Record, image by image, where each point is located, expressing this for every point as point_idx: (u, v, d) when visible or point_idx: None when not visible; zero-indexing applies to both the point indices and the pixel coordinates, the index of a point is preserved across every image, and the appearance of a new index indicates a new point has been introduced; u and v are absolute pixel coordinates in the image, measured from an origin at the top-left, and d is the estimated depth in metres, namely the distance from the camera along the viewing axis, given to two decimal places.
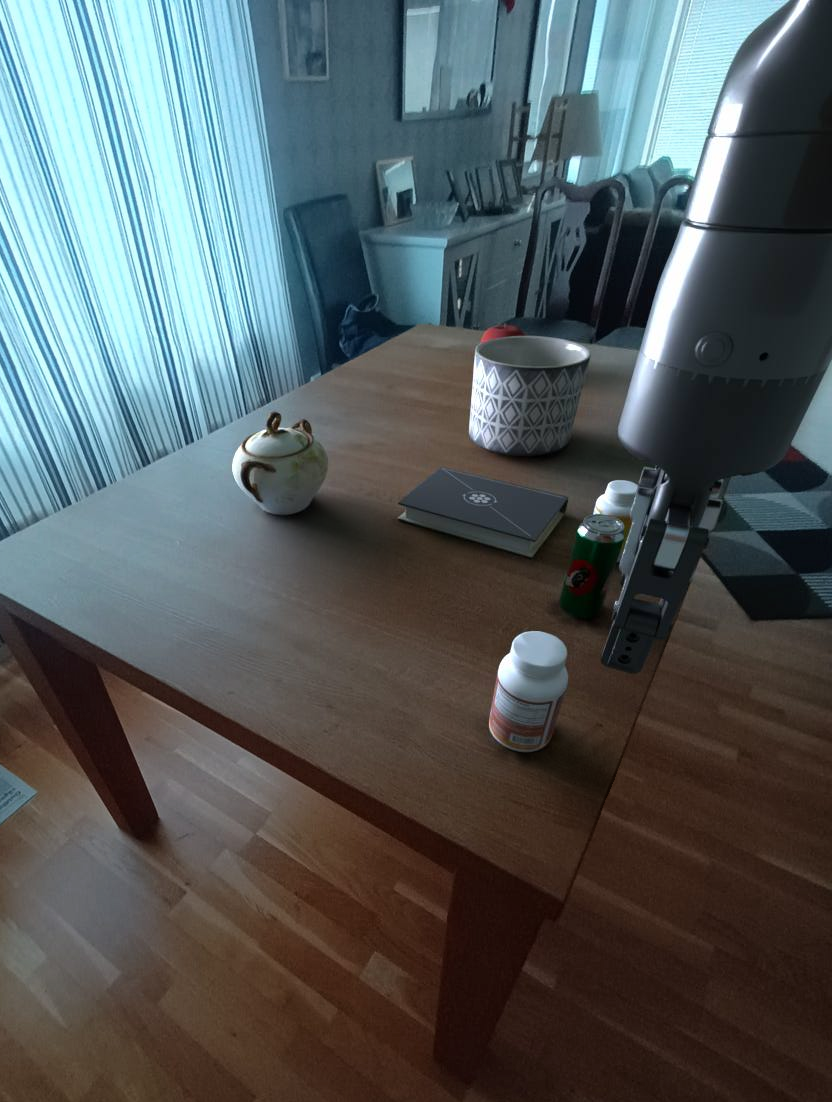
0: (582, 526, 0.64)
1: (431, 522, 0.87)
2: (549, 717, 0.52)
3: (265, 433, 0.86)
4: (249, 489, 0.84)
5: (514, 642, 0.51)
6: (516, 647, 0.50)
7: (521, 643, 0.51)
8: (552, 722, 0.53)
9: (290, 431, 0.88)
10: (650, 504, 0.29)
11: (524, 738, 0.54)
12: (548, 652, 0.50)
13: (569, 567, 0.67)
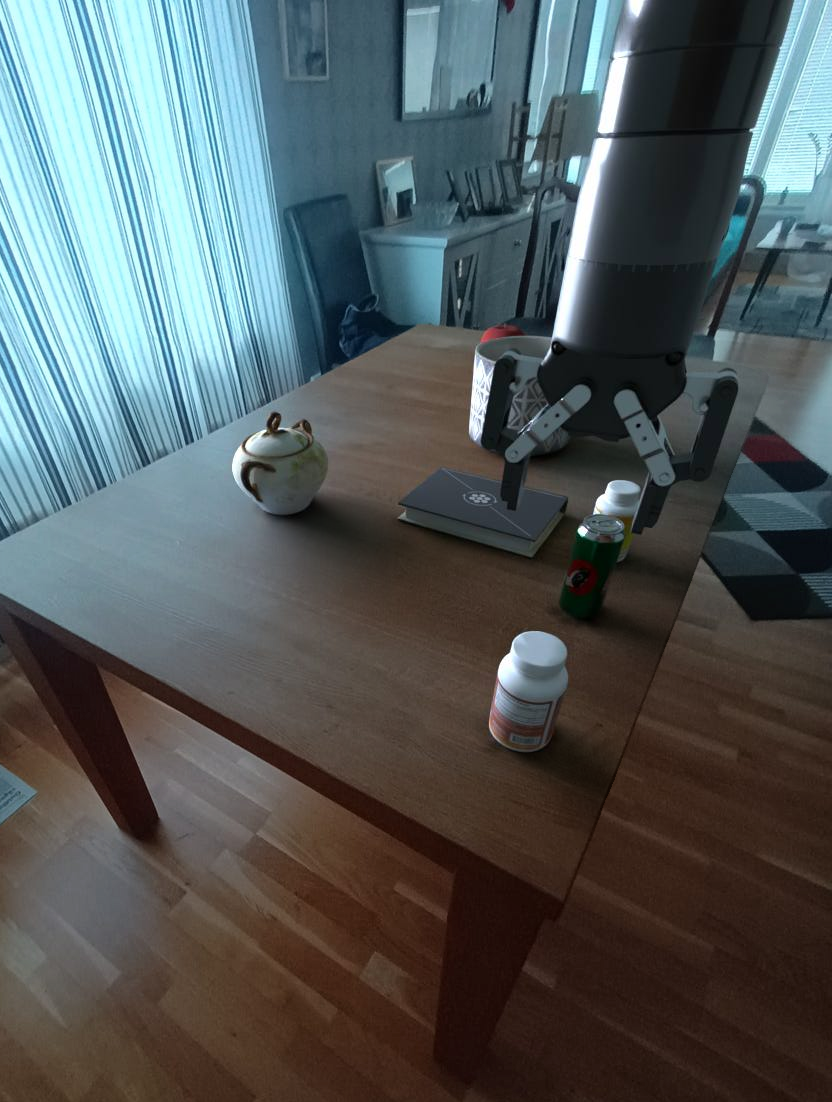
0: (582, 526, 0.64)
1: (431, 522, 0.87)
2: (549, 717, 0.52)
3: (265, 433, 0.86)
4: (249, 489, 0.84)
5: (514, 642, 0.51)
6: (516, 647, 0.50)
7: (521, 643, 0.51)
8: (552, 722, 0.53)
9: (290, 431, 0.88)
10: None
11: (524, 738, 0.54)
12: (548, 652, 0.50)
13: (569, 567, 0.67)
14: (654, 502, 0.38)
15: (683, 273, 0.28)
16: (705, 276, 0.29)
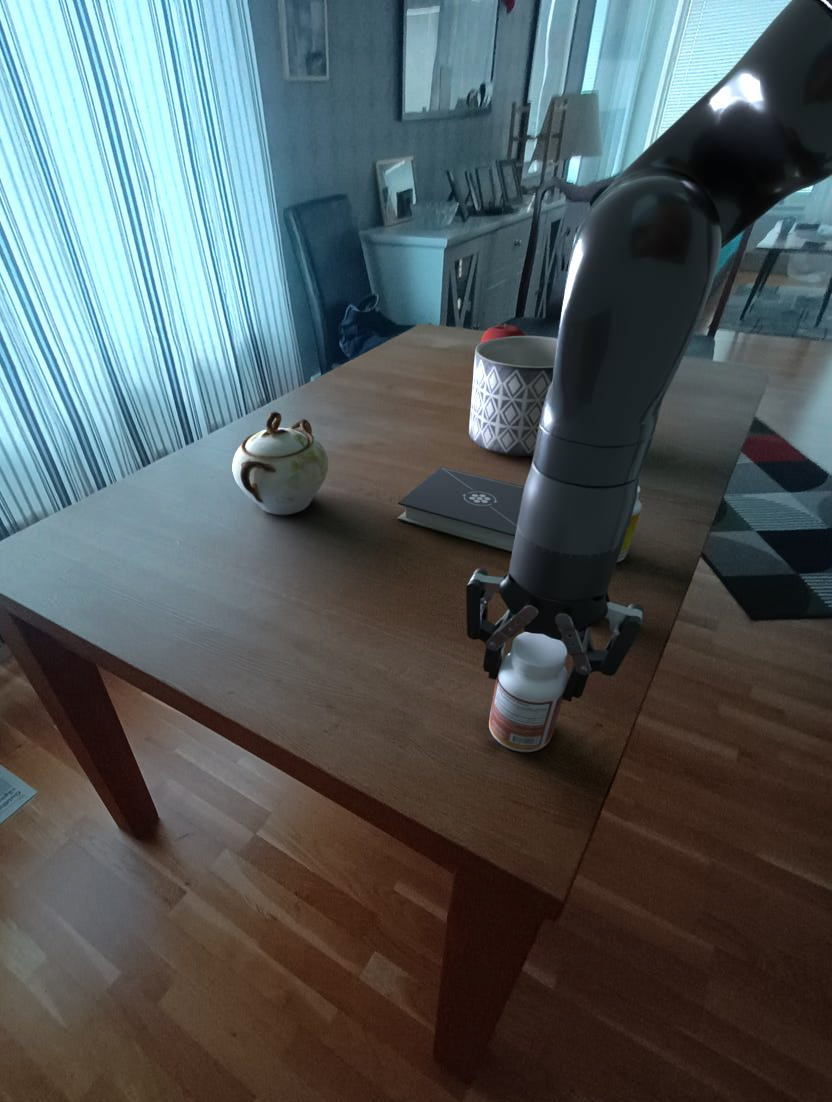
0: None
1: (431, 522, 0.87)
2: (549, 717, 0.52)
3: (265, 433, 0.86)
4: (249, 489, 0.84)
5: (514, 642, 0.51)
6: (516, 647, 0.50)
7: (521, 643, 0.51)
8: (552, 722, 0.53)
9: (290, 431, 0.88)
10: None
11: (524, 738, 0.54)
12: (548, 652, 0.50)
13: None
14: (579, 681, 0.50)
15: (596, 558, 0.40)
16: (613, 555, 0.40)
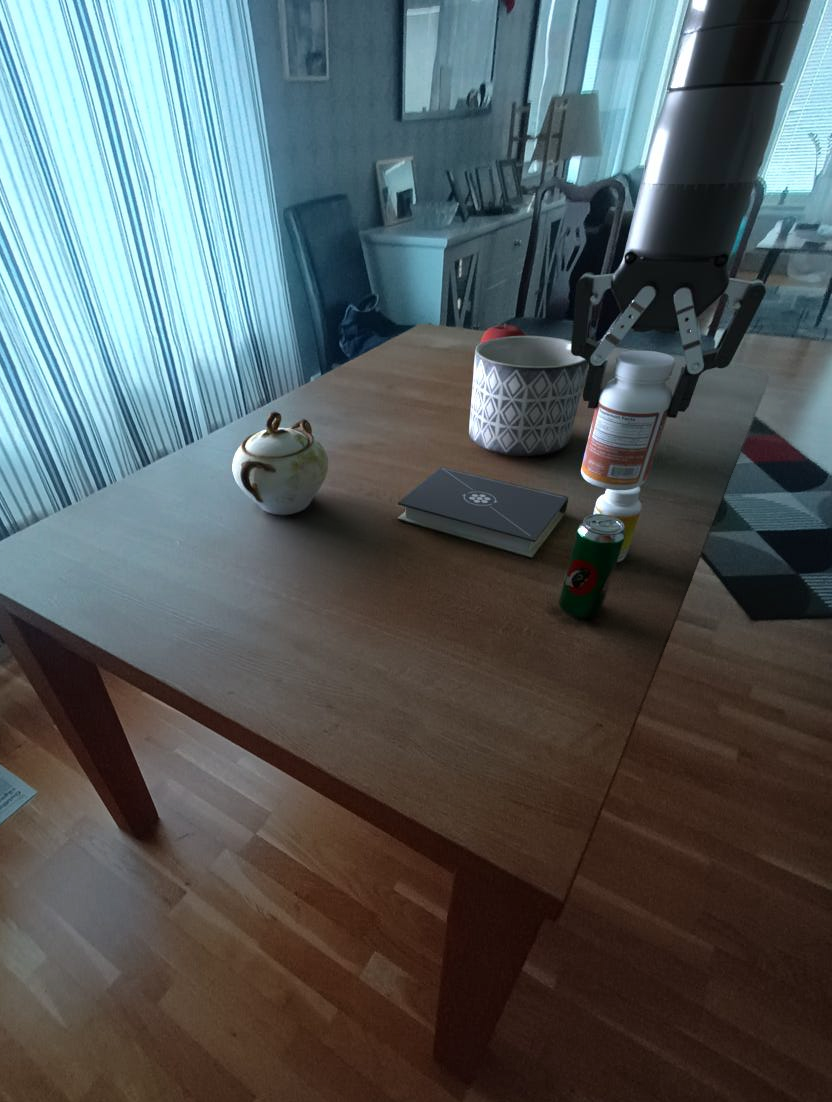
0: (582, 526, 0.64)
1: (431, 522, 0.87)
2: (652, 438, 0.51)
3: (265, 433, 0.86)
4: (249, 489, 0.84)
5: (619, 356, 0.50)
6: (622, 358, 0.50)
7: (626, 356, 0.50)
8: (653, 449, 0.52)
9: (290, 431, 0.88)
10: None
11: (624, 468, 0.53)
12: (656, 359, 0.49)
13: (569, 567, 0.67)
14: (687, 389, 0.49)
15: (732, 190, 0.39)
16: (746, 193, 0.40)
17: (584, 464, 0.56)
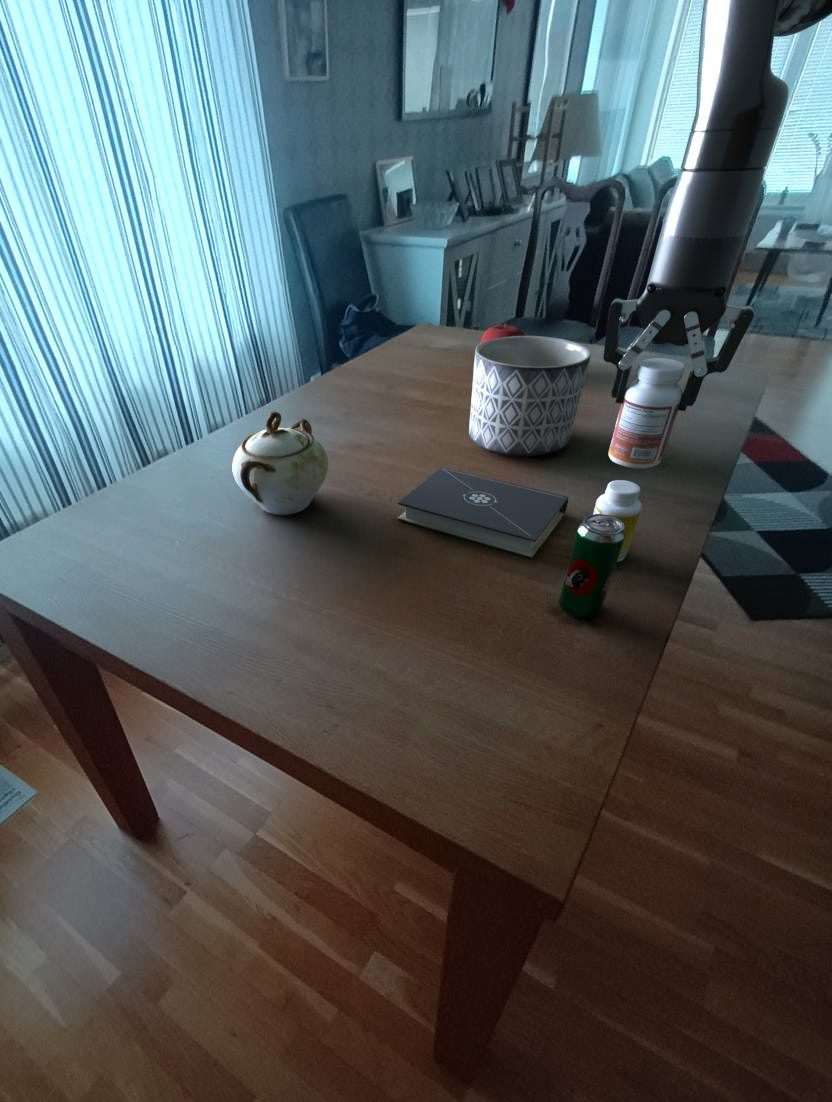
0: (582, 526, 0.64)
1: (431, 522, 0.87)
2: (666, 426, 0.66)
3: (265, 433, 0.86)
4: (249, 489, 0.84)
5: (641, 362, 0.64)
6: (643, 364, 0.64)
7: (646, 362, 0.64)
8: (667, 435, 0.67)
9: (290, 431, 0.88)
10: None
11: (643, 450, 0.67)
12: (670, 365, 0.63)
13: (569, 567, 0.67)
14: (694, 388, 0.63)
15: (727, 242, 0.53)
16: (739, 244, 0.54)
17: (611, 448, 0.70)
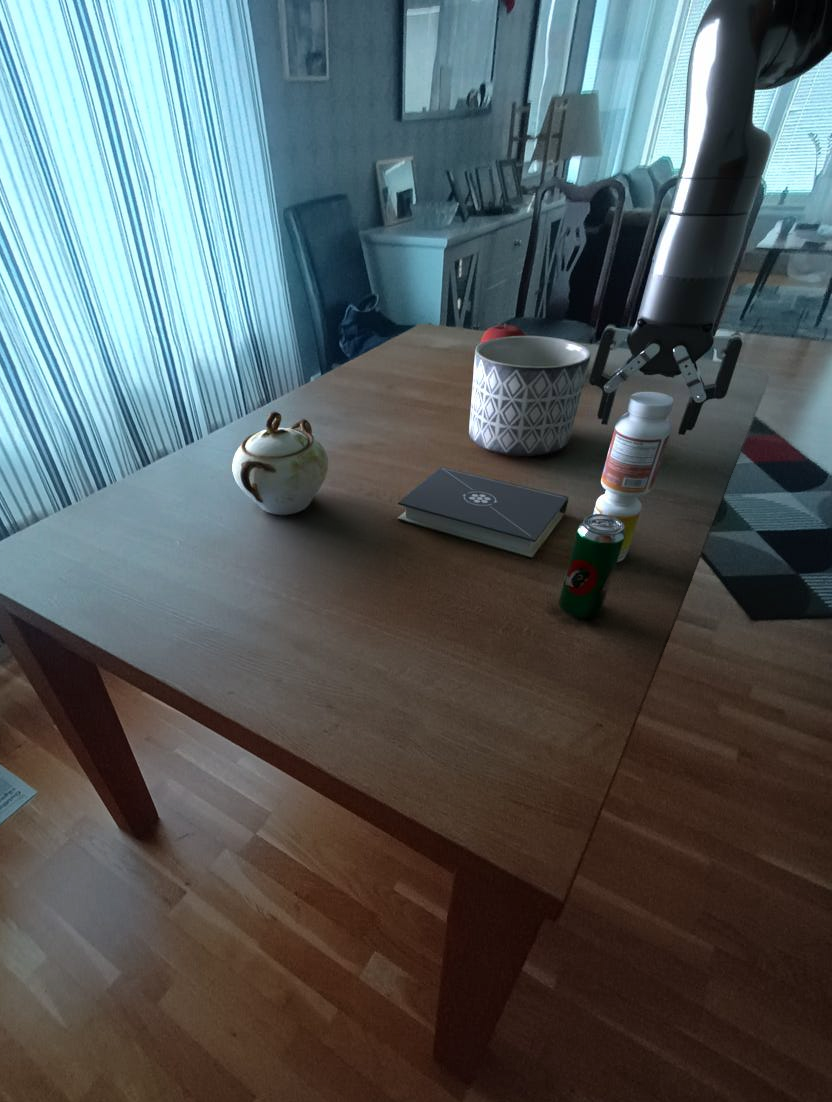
0: (582, 526, 0.64)
1: (431, 522, 0.87)
2: (656, 457, 0.68)
3: (265, 433, 0.86)
4: (249, 489, 0.84)
5: (631, 396, 0.67)
6: (634, 398, 0.66)
7: (637, 396, 0.67)
8: (657, 466, 0.69)
9: (290, 431, 0.88)
10: None
11: (634, 480, 0.70)
12: (659, 399, 0.66)
13: (569, 567, 0.67)
14: (693, 413, 0.65)
15: (714, 282, 0.56)
16: (725, 283, 0.56)
17: (603, 476, 0.73)
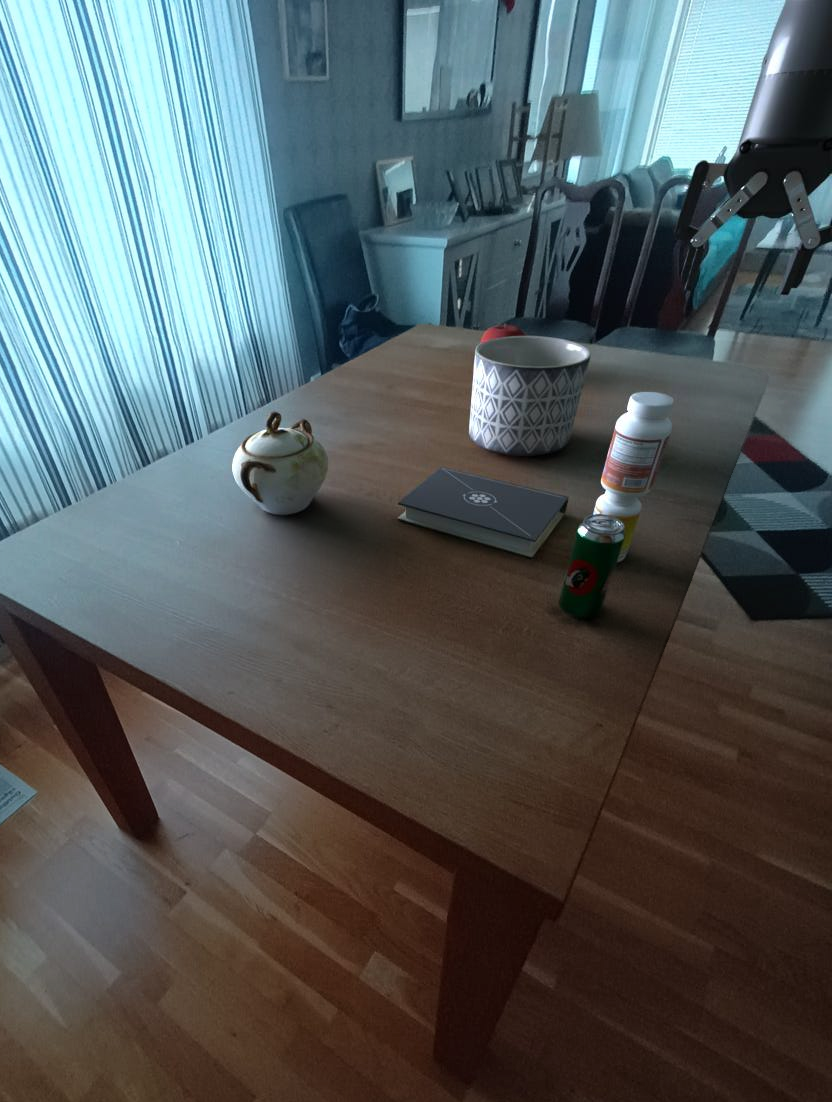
0: (582, 526, 0.64)
1: (431, 522, 0.87)
2: (656, 458, 0.68)
3: (265, 433, 0.86)
4: (249, 489, 0.84)
5: (631, 396, 0.67)
6: (634, 398, 0.66)
7: (637, 397, 0.67)
8: (657, 466, 0.69)
9: (290, 431, 0.88)
10: None
11: (634, 480, 0.70)
12: (659, 399, 0.66)
13: (569, 567, 0.67)
14: (801, 265, 0.55)
15: None
16: None
17: (603, 476, 0.73)
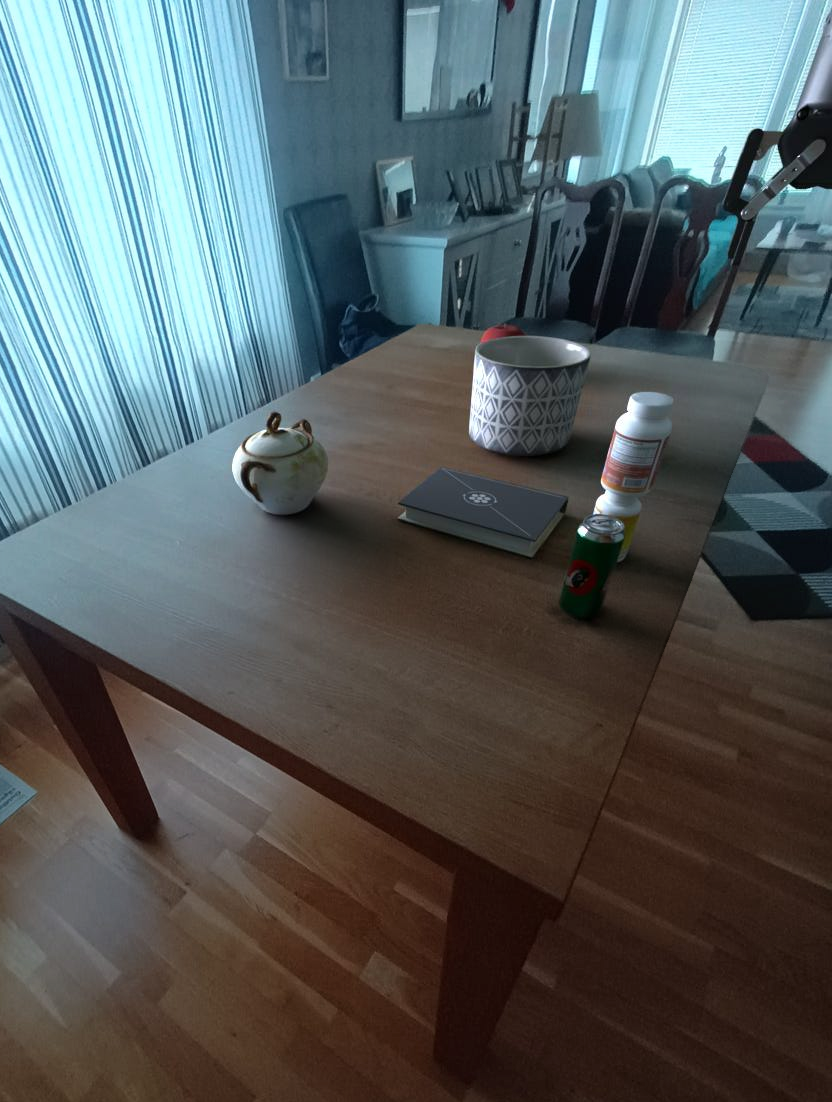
0: (582, 526, 0.64)
1: (431, 522, 0.87)
2: (656, 458, 0.68)
3: (265, 433, 0.86)
4: (249, 489, 0.84)
5: (631, 396, 0.67)
6: (634, 398, 0.66)
7: (637, 397, 0.67)
8: (657, 466, 0.69)
9: (290, 431, 0.88)
10: None
11: (634, 480, 0.70)
12: (659, 399, 0.66)
13: (569, 567, 0.67)
14: None
15: None
16: None
17: (603, 476, 0.73)
